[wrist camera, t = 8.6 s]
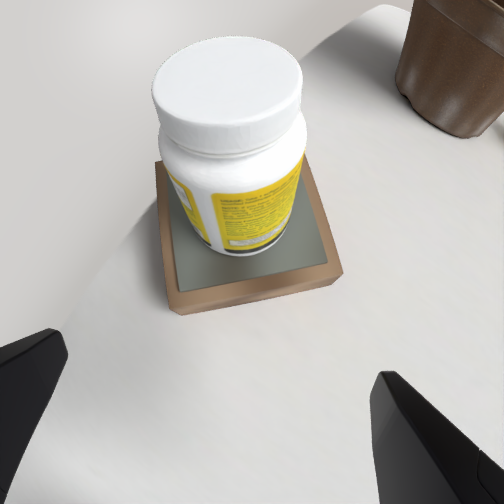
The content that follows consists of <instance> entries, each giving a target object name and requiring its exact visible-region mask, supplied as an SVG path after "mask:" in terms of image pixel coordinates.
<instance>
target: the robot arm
mask: <svg viewBox="0 0 504 504" xmlns="http://www.w3.org/2000/svg"><path fill="white" fill-rule="evenodd" d="M67 359H68V351H67V348H66V346H65V343H64V340H63V337H62V334H61V333H60V332H59V331H58V330H54V329H50V328H48V329H45V330H43V331H40V332H38V333H35V334H33V335H30V336H28V337H25V338H23V339H20V340H18V341H15V342H13V343H10V344H8V345H5V346H3V347H0V504H4V502H5V499H6V497H7V493H8V491H9V488H10V486H11V483H12V480H13V478H14V476H15V473H16V471H17V468H18V466H19V464H20V461H21V459H22V457H23V454H24V452H25V450H26V448H27V446H28V443H29V441H30V439H31V437H32V435H33V433H34V431H35V429H36V427H37V424H38V422H39V420H40V418H41V416H42V414H43V412H44V411H45V409H46V407H47V405H48V403H49V401H50V399H51V397H52V394H53V392H54V390H55V387H56V385H57V382H58V380H59V377H60V375H61V373H62V370H63V368H64V366H65V364H66V361H67ZM370 412H371V430H372V449H373V457H374V464H375V470H376V477H377V485H378V493H379V501H380V504H504V470H503V469H502V468H501V467H500V466H499V465H497V464H496V463H495V462H494V461H493V460H492V459H491V458H489V457H488V456H487V455H486V454H485V453H484V452H483V451H482V450H479V447H477V446H476V445H475V444H474V443H473V442H472V441H471V440H470V439H469V438H468V437H467V436H466V435H465V434H463V433H462V432H461V431H460V430H459V429H458V428H457V427H456V426H455V425H454V424H453V423H451V422H450V421H449V420H448V419H447V418H446V417H445V416H444V415H443V414H442V413H441V412H439V411H438V410H437V409H436V408H435V407H434V406H433V405H432V404H431V403H430V402H429V401H427V400H426V399H425V398H424V397H423V396H422V395H421V394H420V393H419V392H418V391H417V390H415V389H414V388H413V387H412V386H411V385H410V384H409V383H408V382H407V381H406V380H404V379H403V378H402V377H401V376H400V375H399V374H398V373H397V372H395V371H381V372H380V373H379V374H378V376H377V378H376V381H375V384H374V386H373V389H372V391H371V394H370Z"/></svg>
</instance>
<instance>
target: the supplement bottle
mask: <svg viewBox="0 0 504 504" xmlns="http://www.w3.org/2000/svg"><path fill="white" fill-rule="evenodd" d="M302 83H303V77H302V71H301V68H300V65H299V64H298V62H297V61H296V59H295V58H294V57H293V56H292V55H291V54H290V53H289V52H288V51H287V50H285V49H284V48H282V47H280V46H278V45H276V44H274V43H272V42H269V41H266V40H263V39H258V38H254V37H246V36H223V37H216V38H210V39H206V40H203V41H199V42H197V43H194V44H191V45H189V46H187V47H185V48H183V49H181V50H179V51H178V52H176V53H174V54H173V55H172V56H170V57H169V58H168V59H167V60H166V61H165V62H164V63H163V64H162V65H161V66H160V68H159V69H158V71H157V72H156V74H155V76H154V79H153V82H152V89H151V91H152V98H153V101H154V104H155V107H156V110H157V114H158V118H159V121H160V123H161V126H160V129H159V136H158V141H159V150H160V155H161V158H162V161H163V163H164V166H165V168H166V170H167V172H168V174H169V177H170V179H171V181H172V183H173V185H174V188H175V190H176V192H177V194H178V196H179V198H180V201H181V203H182V205H183V207H184V209H185V212H186V214H187V216H188V218H189V220H190V222H191V225H192V227H193V228H194V230H195V232H196V234H197V235H198V237H199V238H200V239H201V240H202V241H203V242H204V243H205V244H206V245H207V246H208V247H210V248H211V249H213V250H215V251H217V252H219V253H222V254H226V255H230V256H250V255H254V254H257V253H260V252H262V251H264V250H266V249H268V248H269V247H271V246H272V245H273V244H275V243H276V242H277V241H278V240H279V238H280V237H281V236H282V235H283V233H284V231H285V229H286V227H287V225H288V222H289V219H290V215H291V211H292V206H293V202H294V198H295V193H296V189H297V184H298V180H299V175H300V171H301V166H302V161H303V156H304V153H305V148H306V142H307V129H306V123H305V120H304V117H303V115H302V112H301V111H300V105H301V94H302Z"/></svg>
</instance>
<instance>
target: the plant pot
mask: <svg viewBox="0 0 504 504" xmlns="http://www.w3.org/2000/svg"><path fill="white" fill-rule="evenodd" d="M395 80H396V84H397V87H398V89H399V91H400V93H401V94H402V95H406V96H407V97H408V99H409V100H410V102H411V104H412V107H413V109H415V110H416V111H417V112H418V113H419V114H420V115H421V116H423V117H424V118H425V119H426V120H428V121H429V122H431V123H432V124H434V125H435V126H437V127H438V128H440V129H442V130H444V131H446V132H448V133H450V134H452V135H455V136H458V137H461V138H467V139H468V138H471V137H473V136H477V137H478V136H480V135H481V134H482V133H483V132H484V131H485V130H486V129H487V128H488V127H489V126H490V125H491V124H492V123H493V122H494V121H495V120H496V119H497V118H498V117H499V116H500V115H501V113H502V112H503V111H504V0H414V3H413V7H412V12H411V17H410V22H409V26H408V30H407V34H406V38H405V42H404V45H403V49H402V53H401V57H400V60H399V64H398V67H397V70H396V74H395Z"/></svg>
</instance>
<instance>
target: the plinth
mask: <svg viewBox="0 0 504 504" xmlns="http://www.w3.org/2000/svg"><path fill="white" fill-rule="evenodd" d="M155 169H156V170H155V171H156V188H157V203H158V215H159V227H160V237H161V247H162V256H163V265H164V273H165V281H166V288H167V295H168V302H169V309H170V310H172V311H174V312H176V313H178V314H180V315H181V316H182V315H188V314H194V313H199V312H205V311H210V310H215V309H221V308H226V307H231V306H236V305H241V304H246V303H251V302H256V301H261V300H266V299H270V298H275V297H280V296H284V295H289V294H293V293H298V292H302V291H307V290H311V289H316V288H320V287H324V286H328V285H332V284H333V283H334V282H335V281H336V280H337V279H338V278H339V277H340V276H341V275H342V274H343V270H342V266H341V263H340V260H339V256H338V253H337V249H336V246H335V243H334V239H333V236H332V233H331V230H330V226H329V223H328V220H327V217H326V214H325V211H324V208H323V205H322V202H321V199H320V196H319V193H318V190H317V187H316V184H315V181H314V178H313V175H312V173H311V170H310V167H309V164H308V161H307V159H306V156H305V153H304V156H303V161H302V166H301V171H300V175H299V180H298V184H297V189H296V193H295V198H294V202H293V206H292V211H291V215H290V219H289V222H288V225H287V227H286V229H285V231H284V233H283V235H282V236H281V237H280V238H279V240H278V241H277V242H276V243H275V244H273V245H272V246H271V247H269V248H268V249H266V250H264V251H262V252H260V253H257V254H254V255H250V256H230V255H226V254H222V253H219V252H217V251H215V250H213V249H211V248H210V247H208V246H207V245H206V244H205V243H204V242H203V241H202V240H201V239H200V238H199V237H198V235H197V234H196V232H195V230H194V228H193V227H192V225H191V222H190V220H189V218H188V216H187V214H186V212H185V209H184V207H183V205H182V203H181V201H180V198H179V196H178V194H177V192H176V190H175V188H174V185H173V183H172V181H171V179H170V177H169V174H168V172H167V170H166V168H165V166H164V163H163V161H158V162H155Z"/></svg>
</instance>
